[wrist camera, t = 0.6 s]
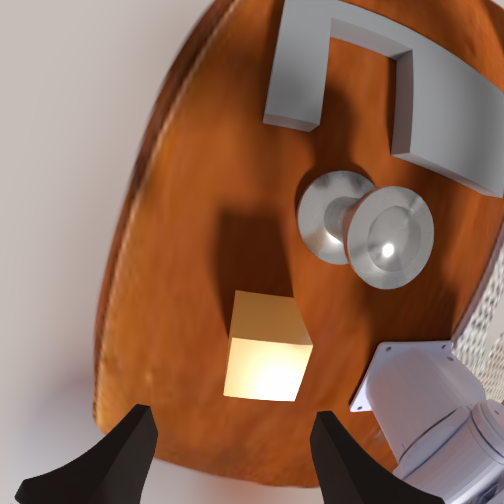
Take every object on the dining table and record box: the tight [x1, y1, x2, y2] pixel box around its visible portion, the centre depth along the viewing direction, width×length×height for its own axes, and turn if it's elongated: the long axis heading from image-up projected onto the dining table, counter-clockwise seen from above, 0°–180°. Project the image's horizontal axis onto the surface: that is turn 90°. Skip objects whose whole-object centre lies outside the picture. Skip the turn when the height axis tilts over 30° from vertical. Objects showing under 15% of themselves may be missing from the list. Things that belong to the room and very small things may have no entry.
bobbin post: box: [296, 171, 434, 289], centre depth 14 cm, size 6×6×7 cm
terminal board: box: [263, 0, 504, 198], centre depth 14 cm, size 20×10×2 cm, turn 81°
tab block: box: [224, 290, 313, 401], centre depth 16 cm, size 4×4×6 cm
